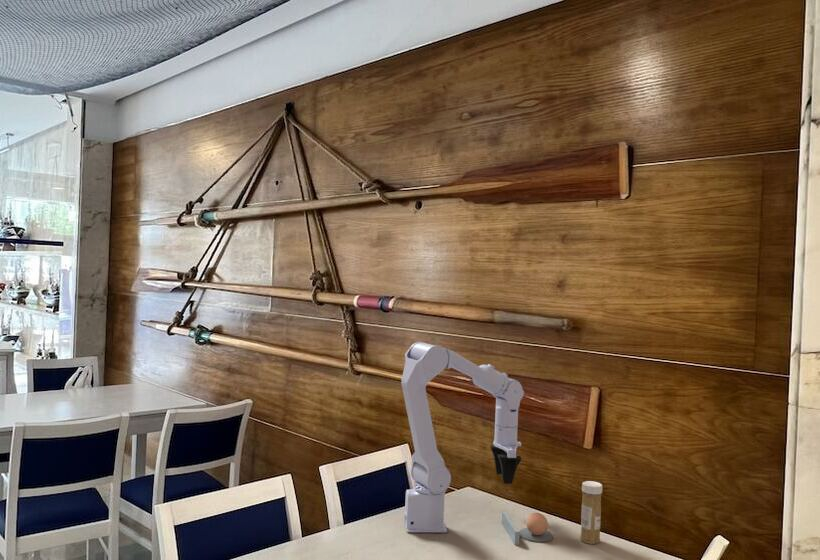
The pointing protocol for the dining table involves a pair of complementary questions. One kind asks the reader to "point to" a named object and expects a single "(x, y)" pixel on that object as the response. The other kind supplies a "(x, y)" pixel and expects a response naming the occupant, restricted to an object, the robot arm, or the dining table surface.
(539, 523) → the terracotta ball
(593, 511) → the spice jar
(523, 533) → the pad
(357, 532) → the dining table surface
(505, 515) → the acrylic wall
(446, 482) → the robot arm
